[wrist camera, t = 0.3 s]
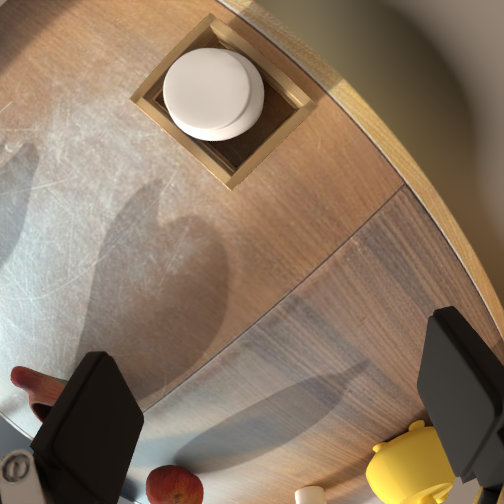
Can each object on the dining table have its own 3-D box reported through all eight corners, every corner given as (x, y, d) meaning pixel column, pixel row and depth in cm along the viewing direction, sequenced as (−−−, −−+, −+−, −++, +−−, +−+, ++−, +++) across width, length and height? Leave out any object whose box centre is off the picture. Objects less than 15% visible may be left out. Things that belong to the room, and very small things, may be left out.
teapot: (463, 438, 43) (487, 492, 30) (394, 478, 47) (409, 533, 34) (430, 399, 38) (464, 471, 25) (344, 450, 42) (357, 523, 29)
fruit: (156, 448, 43) (142, 498, 34) (214, 465, 44) (208, 515, 35) (147, 472, 47) (135, 515, 38) (198, 487, 48) (192, 530, 39)
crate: (150, 103, 25) (128, 99, 21) (219, 31, 23) (210, 12, 18) (236, 181, 28) (231, 192, 23) (308, 110, 25) (318, 106, 21)
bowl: (137, 396, 38) (119, 440, 31) (113, 433, 42) (98, 470, 35) (38, 333, 36) (7, 369, 28) (30, 381, 40) (7, 414, 32)
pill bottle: (180, 91, 25) (130, 72, 15) (243, 58, 24) (230, 15, 13) (212, 150, 27) (181, 164, 16) (276, 117, 26) (285, 110, 15)
